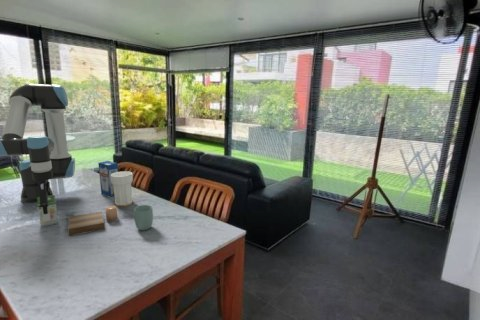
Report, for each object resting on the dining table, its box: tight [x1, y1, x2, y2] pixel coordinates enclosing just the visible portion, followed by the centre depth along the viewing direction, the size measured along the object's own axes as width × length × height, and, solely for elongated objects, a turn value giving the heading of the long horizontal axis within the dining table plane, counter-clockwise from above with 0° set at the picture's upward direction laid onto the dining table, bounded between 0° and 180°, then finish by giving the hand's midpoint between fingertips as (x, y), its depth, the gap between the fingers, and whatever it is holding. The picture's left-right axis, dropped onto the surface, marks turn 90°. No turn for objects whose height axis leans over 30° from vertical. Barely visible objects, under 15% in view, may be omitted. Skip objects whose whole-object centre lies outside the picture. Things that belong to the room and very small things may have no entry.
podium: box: [67, 210, 106, 236], centre depth 126 cm, size 14×14×3 cm
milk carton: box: [97, 160, 119, 198], centre depth 164 cm, size 10×6×20 cm, turn 58°
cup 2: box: [133, 204, 154, 231], centre depth 124 cm, size 8×8×10 cm
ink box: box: [36, 194, 59, 228], centre depth 126 cm, size 7×4×13 cm, turn 126°
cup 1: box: [110, 170, 134, 207], centre depth 151 cm, size 11×11×17 cm
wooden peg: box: [105, 205, 119, 222], centre depth 133 cm, size 5×5×6 cm
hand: (48, 214), depth 126 cm, fingers open, 13 cm apart
